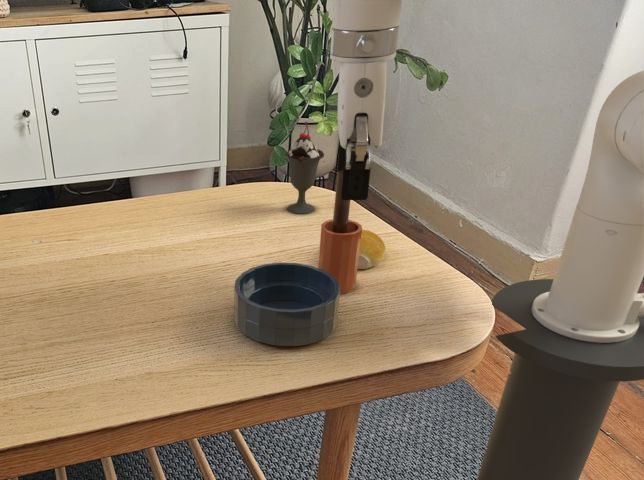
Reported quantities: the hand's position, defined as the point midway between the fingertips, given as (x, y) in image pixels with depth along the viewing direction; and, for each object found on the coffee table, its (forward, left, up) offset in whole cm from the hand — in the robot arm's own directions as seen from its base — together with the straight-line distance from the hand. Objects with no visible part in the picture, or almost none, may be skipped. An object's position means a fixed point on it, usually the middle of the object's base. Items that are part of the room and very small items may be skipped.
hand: (351, 185), depth 85 cm
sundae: (+6, -29, -15) cm, 33 cm away
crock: (+1, 0, -15) cm, 15 cm away
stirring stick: (+1, 0, -14) cm, 14 cm away
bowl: (+8, +11, -15) cm, 20 cm away
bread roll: (-3, -9, -15) cm, 17 cm away
